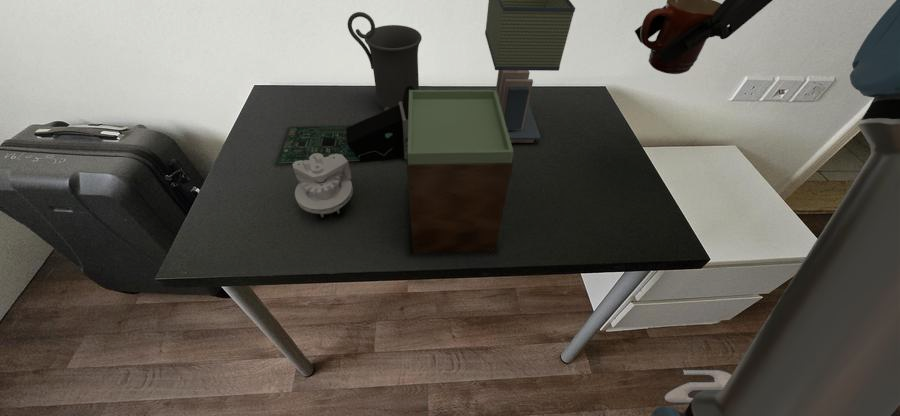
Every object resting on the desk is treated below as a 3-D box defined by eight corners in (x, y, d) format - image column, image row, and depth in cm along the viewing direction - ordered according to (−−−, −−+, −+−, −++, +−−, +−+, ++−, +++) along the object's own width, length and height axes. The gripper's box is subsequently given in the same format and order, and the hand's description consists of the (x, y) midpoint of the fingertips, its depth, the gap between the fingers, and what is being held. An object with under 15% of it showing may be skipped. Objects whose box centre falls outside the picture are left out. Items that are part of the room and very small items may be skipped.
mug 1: (426, 91, 109) (425, -1, 90) (431, 120, 99) (430, 23, 80) (362, 94, 107) (347, 0, 88) (360, 123, 97) (343, 25, 78)
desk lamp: (539, 147, 92) (576, 8, 68) (483, 148, 91) (501, 7, 67) (525, 107, 105) (553, -23, 80) (476, 107, 104) (489, -25, 80)
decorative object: (349, 144, 90) (339, 88, 79) (422, 138, 93) (422, 84, 82) (350, 166, 85) (340, 109, 74) (428, 158, 88) (428, 103, 77)
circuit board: (366, 160, 87) (365, 158, 86) (278, 163, 85) (277, 161, 84) (369, 126, 96) (369, 124, 95) (290, 128, 94) (289, 126, 93)
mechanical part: (304, 232, 72) (286, 189, 63) (299, 191, 79) (283, 148, 70) (361, 219, 74) (352, 176, 66) (352, 180, 82) (342, 137, 73)
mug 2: (678, 55, 69) (707, -5, 61) (704, 78, 63) (740, 14, 55) (616, 56, 68) (638, -5, 60) (637, 79, 62) (664, 14, 54)
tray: (494, 100, 66) (496, 89, 64) (511, 163, 54) (513, 151, 53) (409, 100, 65) (409, 89, 63) (408, 164, 53) (407, 153, 52)
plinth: (483, 187, 82) (495, 99, 66) (494, 251, 70) (513, 163, 54) (413, 188, 81) (408, 100, 65) (413, 253, 69) (406, 165, 53)
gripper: (867, -24, 48) (689, 92, 58) (759, -62, 61) (630, 37, 72) (867, -76, 43) (674, 60, 53) (751, -104, 57) (615, 8, 67)
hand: (649, 47), depth 62 cm, fingers closed on mug 2, 8 cm apart
